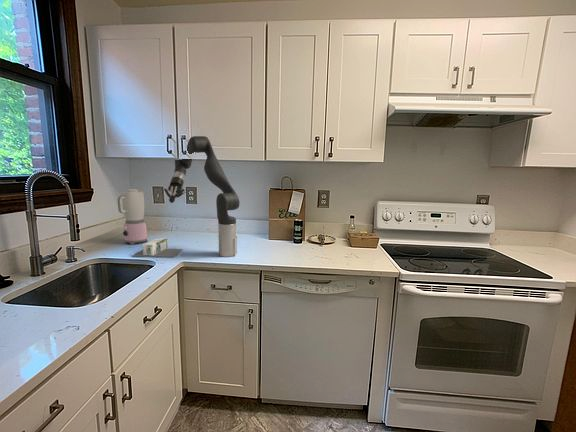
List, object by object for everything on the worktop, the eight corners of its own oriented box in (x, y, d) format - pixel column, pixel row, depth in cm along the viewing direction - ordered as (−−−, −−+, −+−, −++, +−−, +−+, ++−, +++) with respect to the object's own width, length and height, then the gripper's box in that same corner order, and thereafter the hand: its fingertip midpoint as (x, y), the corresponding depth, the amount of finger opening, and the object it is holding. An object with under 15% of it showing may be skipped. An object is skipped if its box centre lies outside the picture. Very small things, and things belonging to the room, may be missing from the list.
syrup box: (168, 248, 162) (153, 255, 148) (158, 247, 162) (142, 255, 148) (167, 238, 161) (152, 245, 147) (157, 237, 162) (142, 244, 147)
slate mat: (182, 249, 161) (182, 248, 161) (173, 257, 148) (173, 256, 147) (144, 249, 161) (144, 248, 161) (131, 256, 147) (131, 255, 147)
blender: (139, 238, 183) (135, 188, 178) (152, 241, 177) (149, 189, 172) (114, 244, 169) (110, 189, 164) (127, 247, 164) (123, 191, 158)
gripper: (165, 176, 178) (157, 197, 168) (186, 176, 178) (180, 198, 168) (168, 184, 184) (162, 205, 174) (189, 184, 185) (184, 206, 175)
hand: (171, 201), depth 171 cm, fingers closed
